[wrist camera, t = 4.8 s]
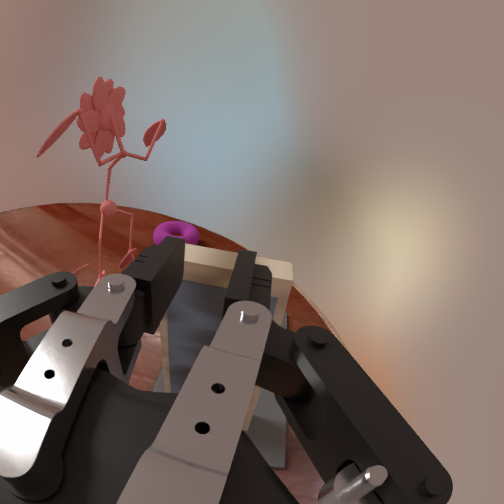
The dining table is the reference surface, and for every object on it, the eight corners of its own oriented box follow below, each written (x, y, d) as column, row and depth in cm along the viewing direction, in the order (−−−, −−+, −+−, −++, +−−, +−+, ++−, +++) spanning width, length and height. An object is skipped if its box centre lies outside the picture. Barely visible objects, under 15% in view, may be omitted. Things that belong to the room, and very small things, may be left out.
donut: (148, 252, 61) (148, 232, 59) (160, 233, 70) (160, 216, 68) (195, 259, 62) (197, 239, 60) (201, 239, 71) (203, 221, 69)
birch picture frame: (166, 415, 27) (157, 256, 19) (173, 397, 30) (171, 240, 21) (247, 432, 27) (293, 282, 19) (249, 413, 30) (291, 262, 21)
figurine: (167, 262, 58) (182, 85, 43) (95, 340, 35) (82, 65, 20) (108, 246, 60) (113, 86, 45) (29, 307, 37) (8, 84, 22)
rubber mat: (283, 469, 24) (284, 467, 24) (134, 439, 24) (133, 436, 24) (285, 314, 49) (286, 312, 49) (194, 297, 49) (194, 294, 49)
